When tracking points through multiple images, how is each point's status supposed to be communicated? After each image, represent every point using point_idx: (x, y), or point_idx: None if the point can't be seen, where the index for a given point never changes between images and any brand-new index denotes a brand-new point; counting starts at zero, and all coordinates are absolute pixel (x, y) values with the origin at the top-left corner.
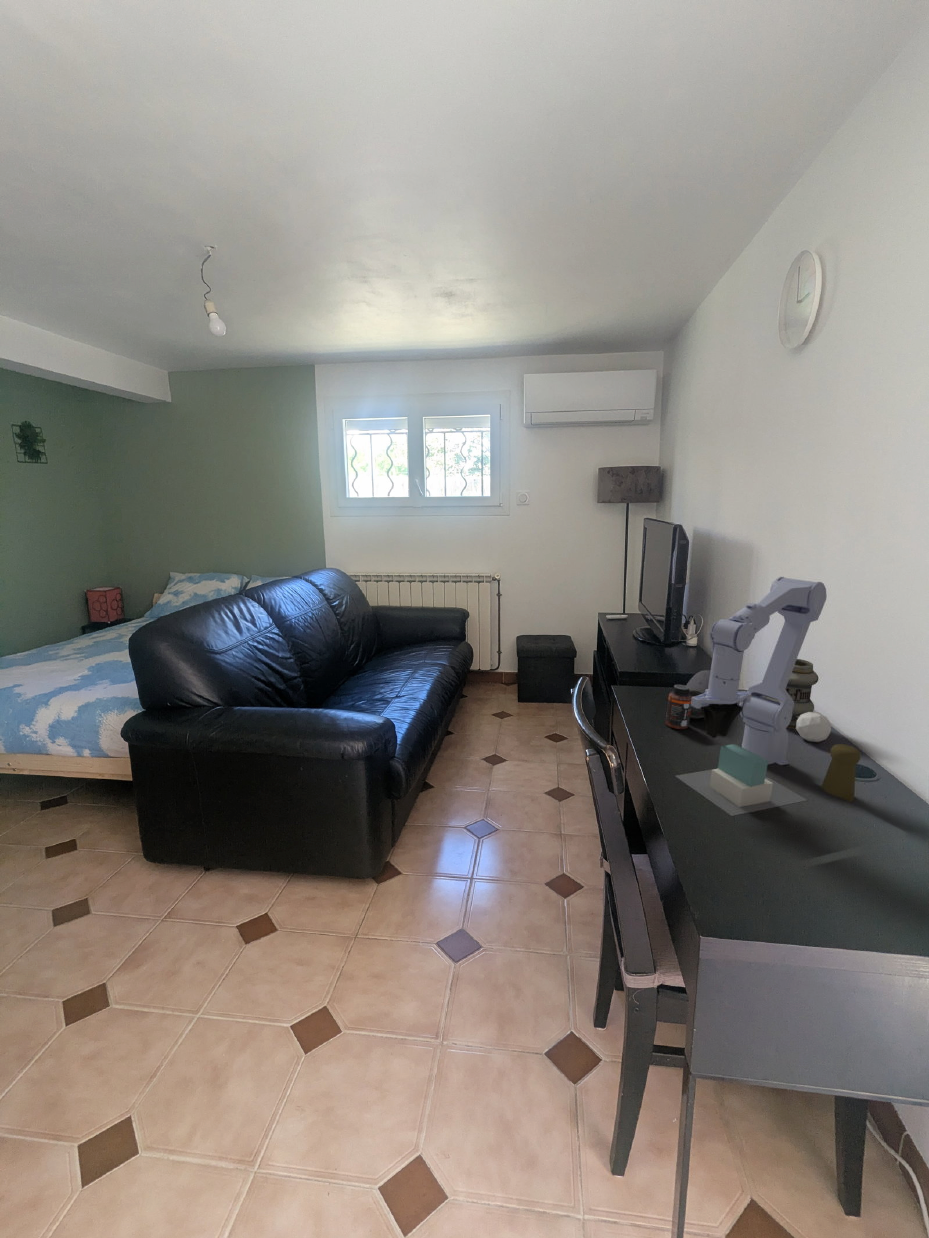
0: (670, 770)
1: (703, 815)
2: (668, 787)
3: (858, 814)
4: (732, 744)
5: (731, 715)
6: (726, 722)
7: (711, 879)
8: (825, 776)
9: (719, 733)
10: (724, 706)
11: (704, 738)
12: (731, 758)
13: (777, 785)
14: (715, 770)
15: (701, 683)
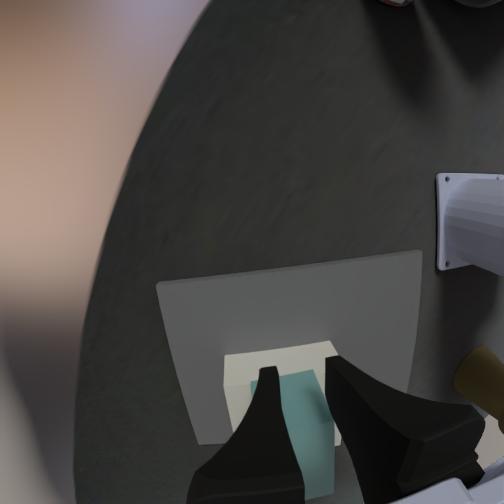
0: (175, 229)
1: (149, 420)
2: (120, 317)
3: None
4: (318, 426)
5: (364, 498)
6: (350, 446)
7: (100, 491)
8: (484, 373)
9: (326, 376)
10: (387, 495)
11: (421, 65)
12: None
13: (403, 360)
14: (231, 391)
15: None
